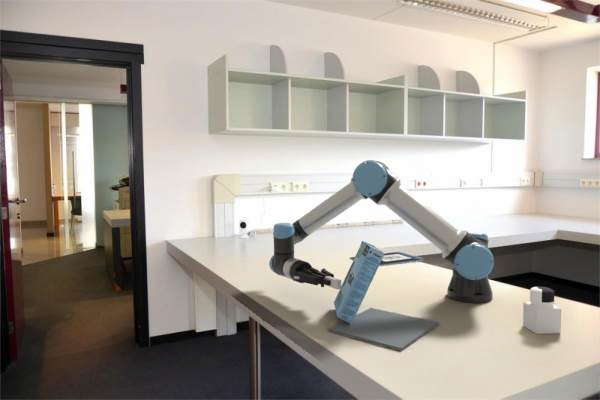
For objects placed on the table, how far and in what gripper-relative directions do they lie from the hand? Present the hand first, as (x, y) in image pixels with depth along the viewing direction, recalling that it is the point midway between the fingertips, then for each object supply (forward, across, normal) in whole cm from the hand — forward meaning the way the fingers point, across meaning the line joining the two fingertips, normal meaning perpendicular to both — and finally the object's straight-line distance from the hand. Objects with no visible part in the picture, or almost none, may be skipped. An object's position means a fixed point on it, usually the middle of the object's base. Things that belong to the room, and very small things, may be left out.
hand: (339, 284), depth 139 cm
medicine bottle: (+40, -42, -11) cm, 59 cm away
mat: (+14, -6, -11) cm, 18 cm away
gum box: (-1, -1, -9) cm, 9 cm away
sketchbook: (-57, -73, -12) cm, 94 cm away
